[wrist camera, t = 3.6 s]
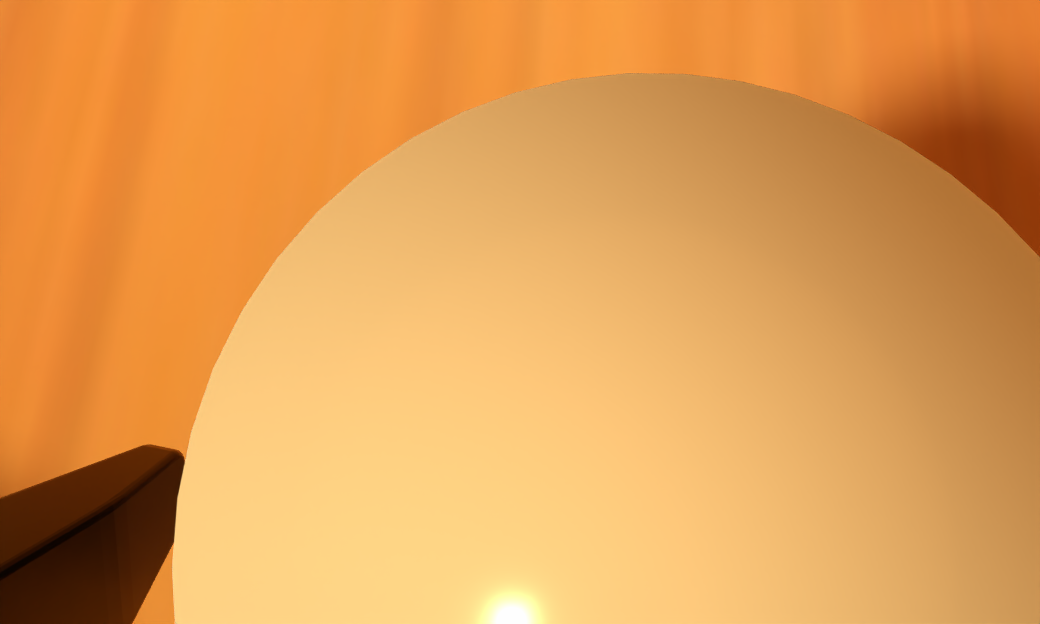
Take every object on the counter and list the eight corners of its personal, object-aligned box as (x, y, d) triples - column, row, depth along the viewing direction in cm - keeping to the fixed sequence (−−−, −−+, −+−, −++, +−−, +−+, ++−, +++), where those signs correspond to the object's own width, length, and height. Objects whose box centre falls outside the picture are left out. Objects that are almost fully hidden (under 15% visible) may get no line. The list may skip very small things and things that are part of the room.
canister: (546, 747, 18) (805, 1436, 4) (333, 555, 18) (-53, 588, 5) (716, 521, 19) (1340, 461, 5) (511, 350, 20) (607, -82, 6)
